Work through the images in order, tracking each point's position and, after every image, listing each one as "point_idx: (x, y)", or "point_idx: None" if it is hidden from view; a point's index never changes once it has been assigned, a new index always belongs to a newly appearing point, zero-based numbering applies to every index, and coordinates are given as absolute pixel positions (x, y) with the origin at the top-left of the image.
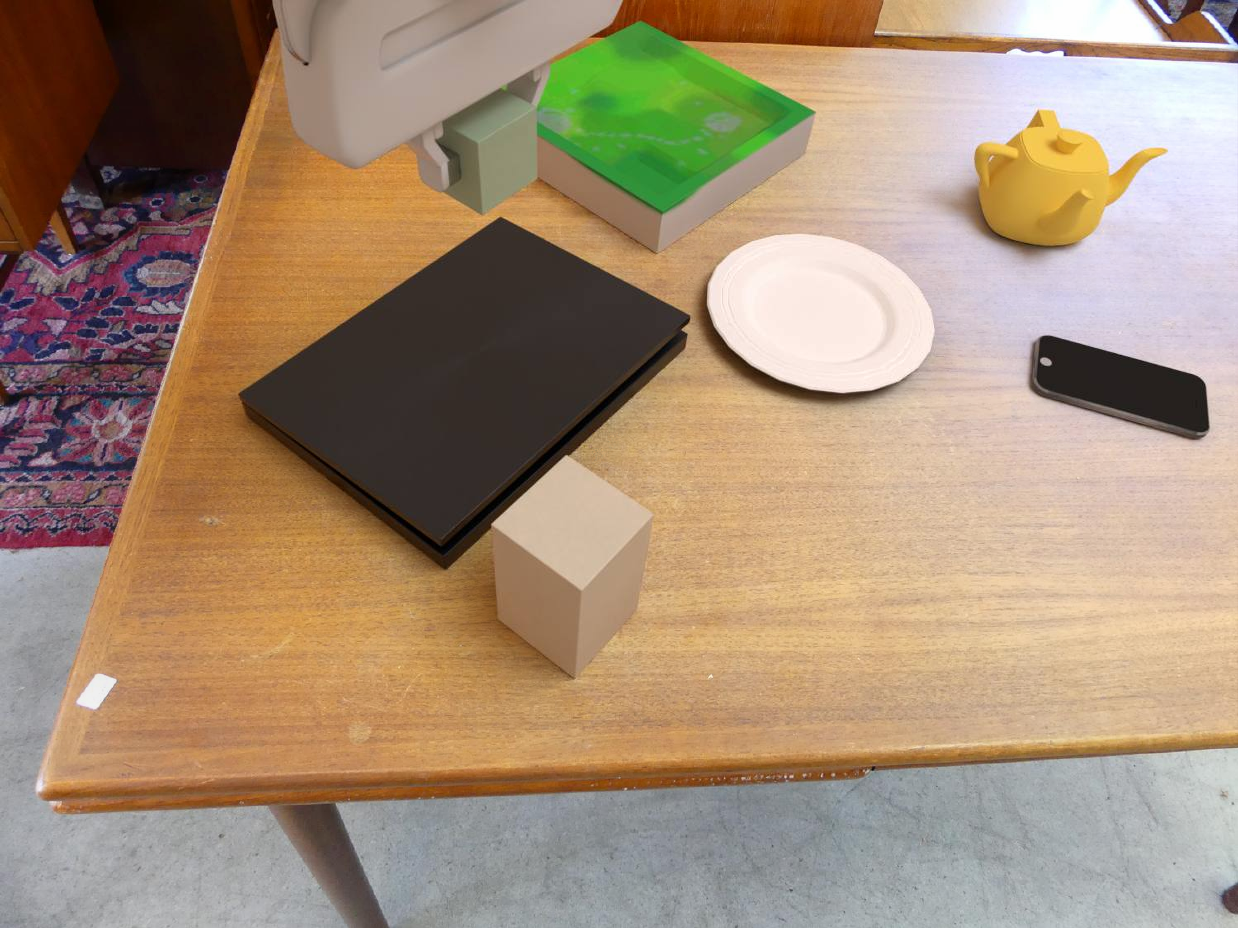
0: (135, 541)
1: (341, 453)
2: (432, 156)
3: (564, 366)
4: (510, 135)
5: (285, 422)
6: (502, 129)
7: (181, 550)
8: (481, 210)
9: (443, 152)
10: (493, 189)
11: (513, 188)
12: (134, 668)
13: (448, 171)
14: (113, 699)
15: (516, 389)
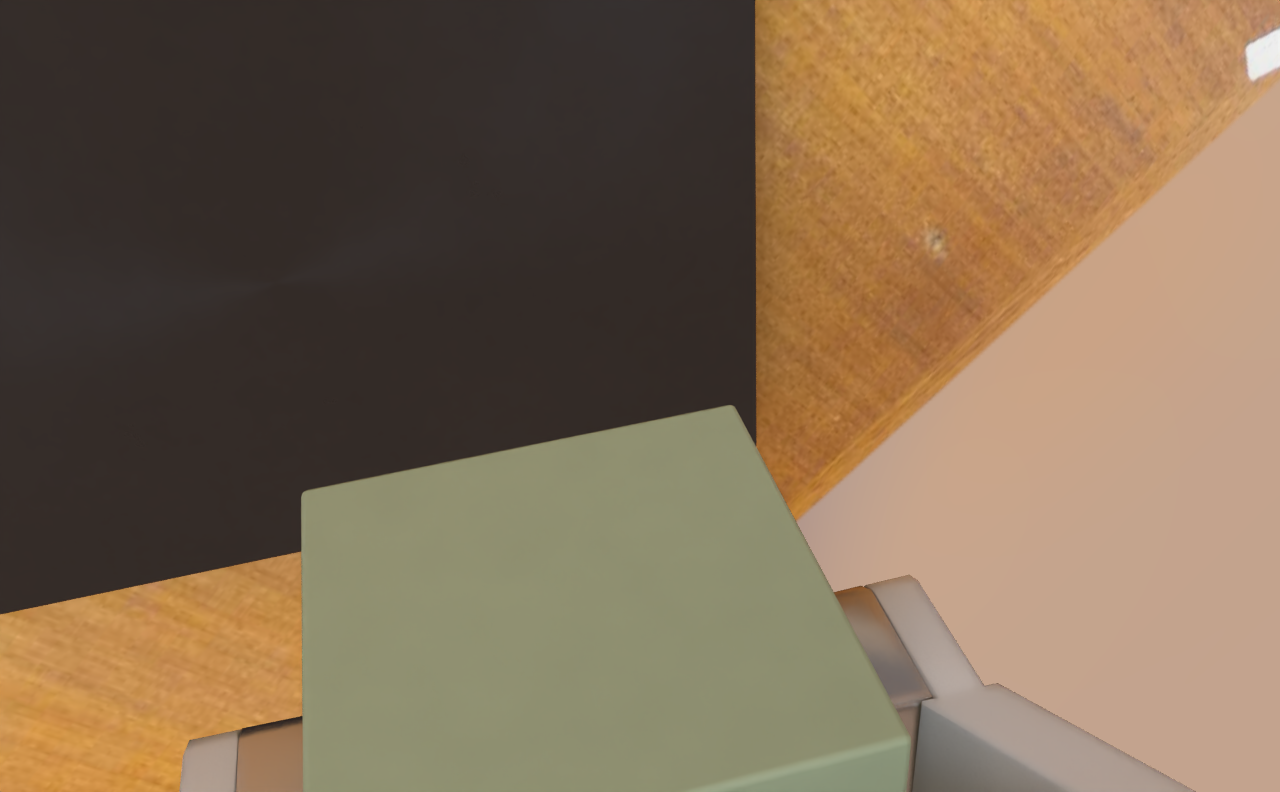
0: (1039, 279)
1: (725, 207)
2: (1091, 741)
3: (76, 89)
4: (576, 740)
5: (745, 346)
6: (672, 788)
7: (1009, 216)
8: (743, 424)
9: (1001, 749)
10: (674, 492)
11: (509, 475)
12: (1218, 47)
13: (908, 653)
14: (1275, 15)
15: (259, 109)
